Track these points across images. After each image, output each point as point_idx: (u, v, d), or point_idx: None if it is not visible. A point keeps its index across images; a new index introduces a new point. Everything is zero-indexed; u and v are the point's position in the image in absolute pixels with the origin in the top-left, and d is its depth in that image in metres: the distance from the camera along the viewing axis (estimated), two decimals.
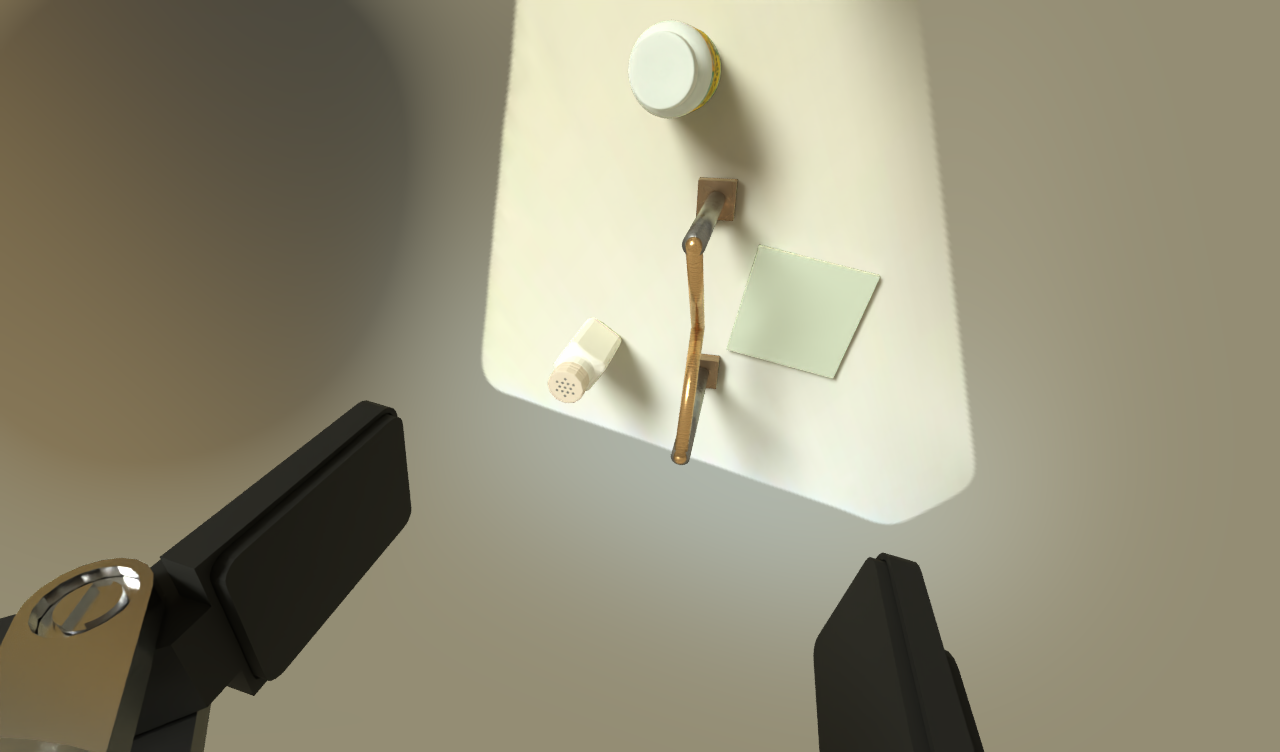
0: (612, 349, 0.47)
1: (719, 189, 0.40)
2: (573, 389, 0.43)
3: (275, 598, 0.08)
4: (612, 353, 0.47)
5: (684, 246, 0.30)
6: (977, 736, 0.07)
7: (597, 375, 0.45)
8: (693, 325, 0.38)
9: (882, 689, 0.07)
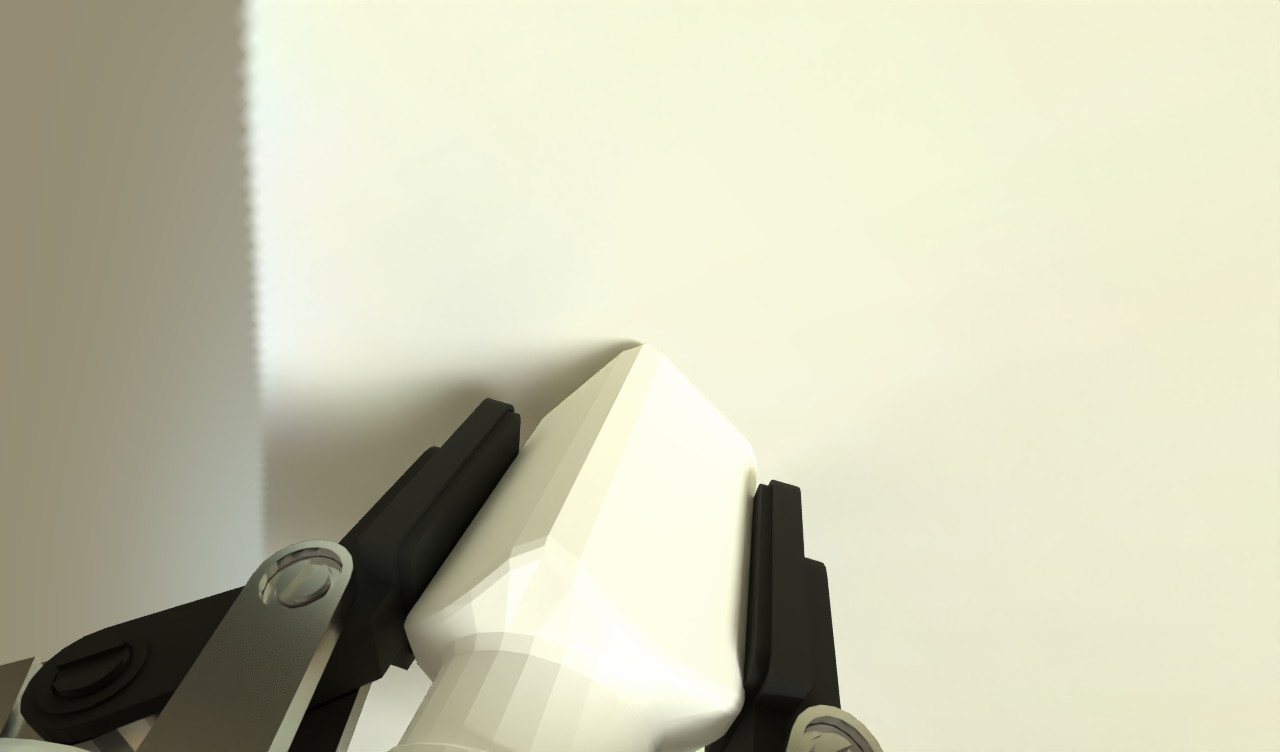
0: None
1: None
2: None
3: None
4: None
5: None
6: (830, 624, 0.08)
7: None
8: None
9: (749, 584, 0.08)
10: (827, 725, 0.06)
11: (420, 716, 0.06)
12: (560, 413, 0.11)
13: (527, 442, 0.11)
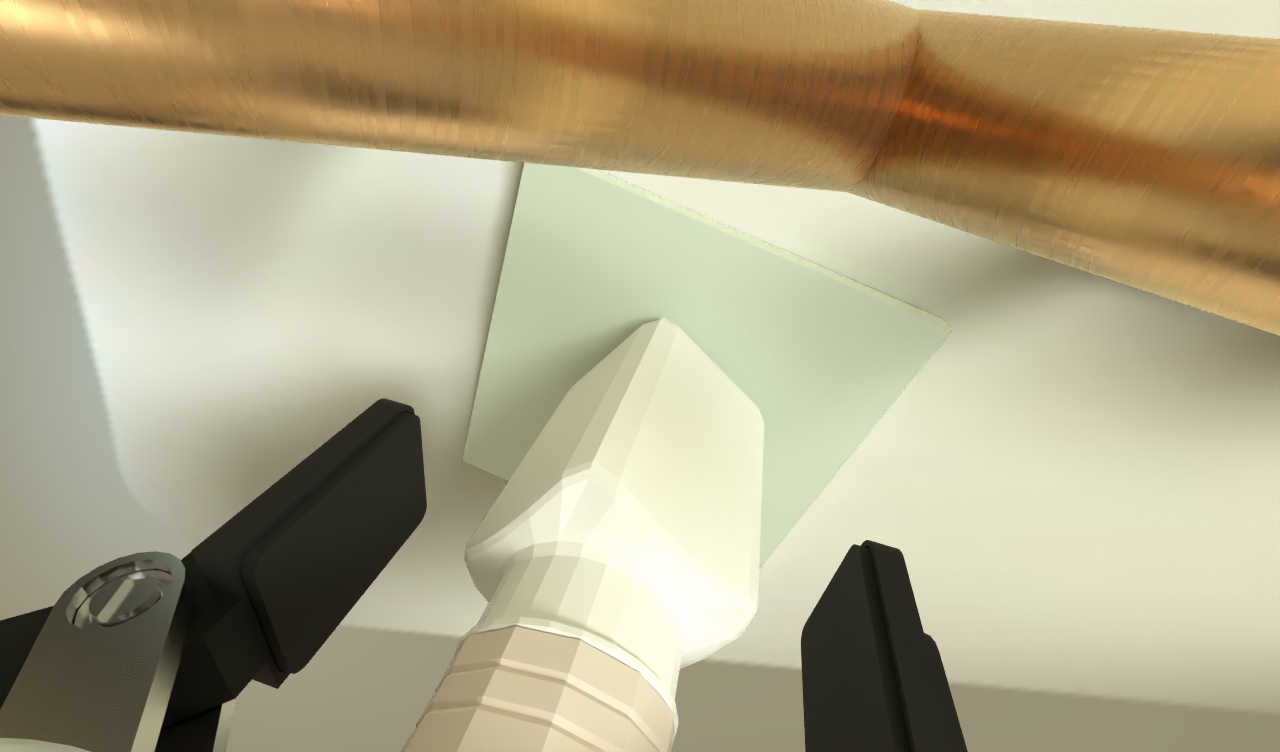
0: None
1: None
2: None
3: (300, 592, 0.08)
4: None
5: None
6: (955, 715, 0.07)
7: None
8: (1050, 76, 0.02)
9: (862, 670, 0.07)
10: None
11: (492, 606, 0.07)
12: (587, 380, 0.12)
13: (557, 408, 0.12)
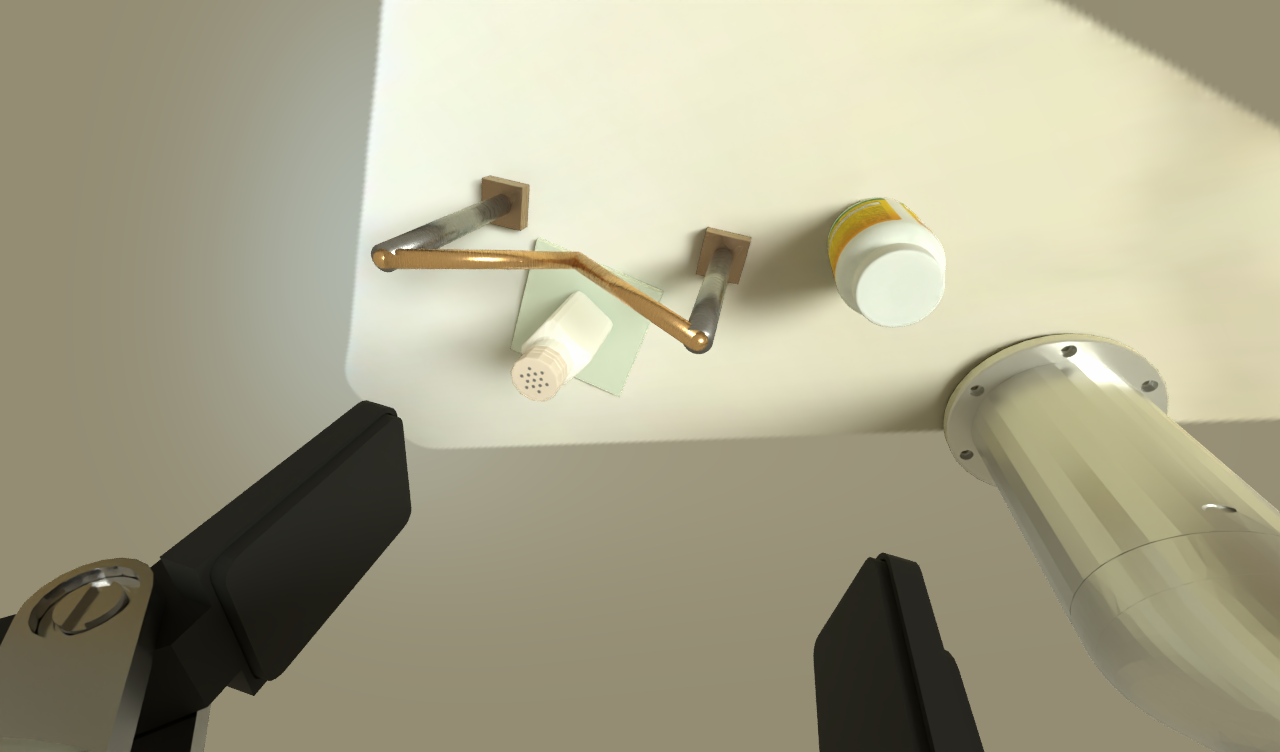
0: None
1: (734, 263, 0.34)
2: (532, 389, 0.32)
3: (275, 598, 0.08)
4: None
5: (697, 329, 0.23)
6: (977, 736, 0.07)
7: None
8: (580, 263, 0.28)
9: (882, 689, 0.07)
10: None
11: None
12: None
13: None
